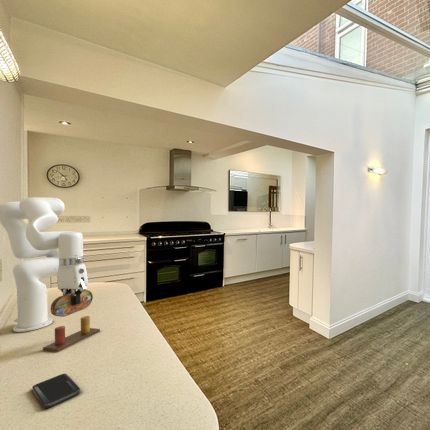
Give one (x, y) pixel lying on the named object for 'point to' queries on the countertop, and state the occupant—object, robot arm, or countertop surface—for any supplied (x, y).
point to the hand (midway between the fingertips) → (72, 304)
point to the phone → (55, 390)
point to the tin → (64, 307)
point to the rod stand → (71, 336)
